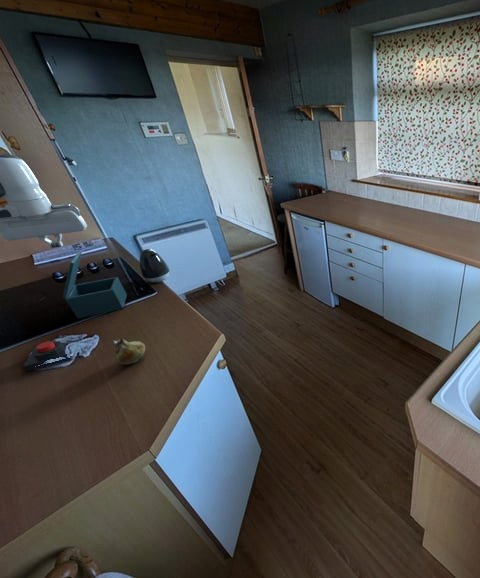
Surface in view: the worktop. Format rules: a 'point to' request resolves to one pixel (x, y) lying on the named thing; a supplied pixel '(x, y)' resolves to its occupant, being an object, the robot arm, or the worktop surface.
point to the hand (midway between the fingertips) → (57, 246)
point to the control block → (46, 357)
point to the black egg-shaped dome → (153, 266)
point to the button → (45, 346)
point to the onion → (129, 351)
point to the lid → (72, 274)
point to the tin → (96, 297)
